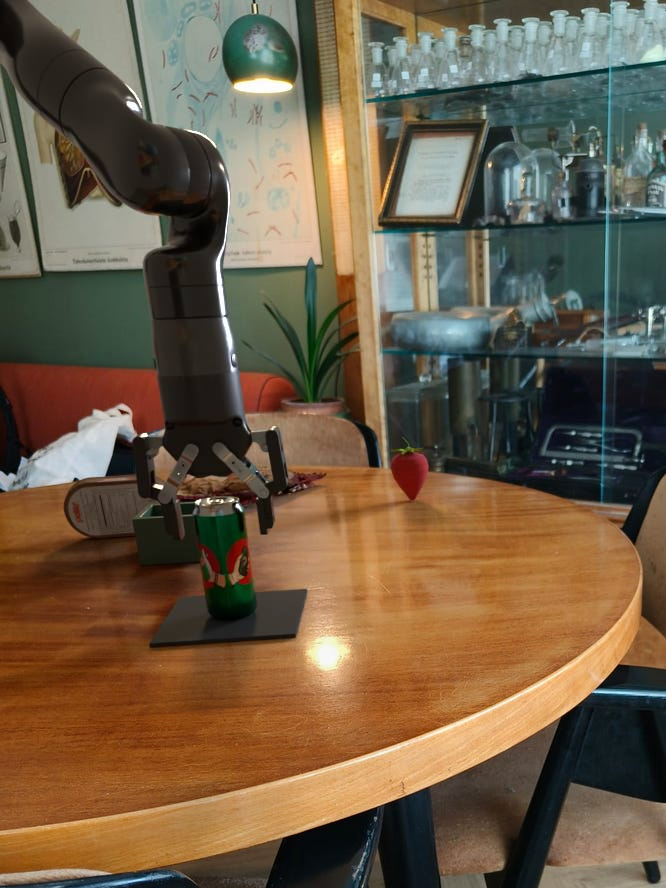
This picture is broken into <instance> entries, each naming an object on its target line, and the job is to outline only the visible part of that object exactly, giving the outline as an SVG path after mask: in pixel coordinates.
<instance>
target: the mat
mask: <svg viewBox="0 0 666 888" xmlns="http://www.w3.org/2000/svg"><path fill="white" fill-rule="evenodd" d="M255 592H256V599H257V608H256V609H255V611H254V612H253V613H252V614H251V615H249V616H247V617H245V618H241V619H236V620H219V619H215V618H213V617H212V616H211V615H210V614H209V613H208V611H207V605H206V599H205V594H202V595H187V596H179V598H178V599H177V601H176V602H175V603H174V605H173V607H172V609H171V610H170V611H169V613H168V614H167V616H166V617H165V619H164V620H163V622H162V623H161V624H160V626H159V627H158V629H157V631H156V633H155V634H154V635H153V637H152V638H151V640H150V641H149V643H148V645H149V648H157V647H158V648H160V647H171V646H173V647H174V646H188V645H200V644H202V645H203V644H216V643H233V642H245V641H246V642H247V641H262V640H274V639H275V640H276V639H290V638H291V639H293V638H296V637H297V633H298V631H299V626H300V622H301V618H302V614H303V612H304V611H303V610H304V607H305V602H306V598H307V595H308V589H307V588H298V589H282V590H279V589H278V590H265V591H264V590H263V591H255Z"/></svg>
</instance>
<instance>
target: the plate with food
mask: <svg viewBox="0 0 666 888" xmlns="http://www.w3.org/2000/svg"><path fill="white" fill-rule="evenodd" d="M256 467H257V466H256ZM257 469H258V471H259V472H260V473H261V474H262V475H263V476H264V478H265V479H266V480H267V481H268V480H270V479H273V476H272V470H271V467H268V466H262V467H261V466H258V467H257ZM240 470H241V469H240ZM287 471H288V477H289V482H291V484H290V485H291V486H293V487H291V488H290V489H289V490H288V491H289V492H290V493H287V495H292V493H293V495H295V492H296V491H302V490H305V489H308V488H312V487H314V485H315V482H316V481H317V482H318V481H320V480H322V479H324V477H326V476H327V472H325V473H323V472H319V473H316V472H312V473H304V472H299V471H298V472H296V471H292V469H290V468H289V469H287ZM281 494H283V492H282V491H279V492H277V493H276V495H281ZM176 496H177V500H180V503H182V502H188V500H195V501H198V500H200V499H204V498H209V497H216V496H233V497H237V498H239V503H240V504H241V506H242V507H244V505H246V504H249V503H251V504H255V505H256V499H257V497H258V496H257V494H256V493H255V492H254V491H253V490H252V489H251V488H250V487H249V486H248V485H247V484H246V483H244V482H243V481H241V479H240V478H239V477H238V476H237V475H236V474H235V473H233V474H231V475H229V476H228V477H217V476H212V475H211V476H208V477H205V478H195V477H194V476H191V475H190V474H189V475H188V476H187V478H186V480H185V481H184V482H183V484H182V486H181V487H180V489H179V491H178V492H177V494H176ZM183 499H184V500H183Z"/></svg>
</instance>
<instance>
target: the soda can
mask: <svg viewBox="0 0 666 888" xmlns="http://www.w3.org/2000/svg"><path fill="white" fill-rule="evenodd" d="M194 502H195V509H194V511H193V513H192V517H193V523H194V529H195V536H196V542H197V548H198V554H199V561H200V562H199V566H200V573H201V580H202V586H203V591H204V595H205V599H206V605H207V611H208V613H209V614H210V615H211V616H212V617H213V618H215V619H219V620H236V619H241V618H245V617H247V616H249V615H251V614H252V613H253V612H254V611H255V609H256V608H257V599H256V592H257V591H256V586H255V585H256V584H255V579H254V578H255V577H254V571H253V570H254V569H253V563H252V557H251V556H252V555H251V550H250V542H249V541H250V540H249V534H248V525H247V519H246V512H245V508H244V506H241V504H240V503H239V498H237V497H233V496H216V497H209V498H204V499H200V500H195V501H194Z"/></svg>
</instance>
